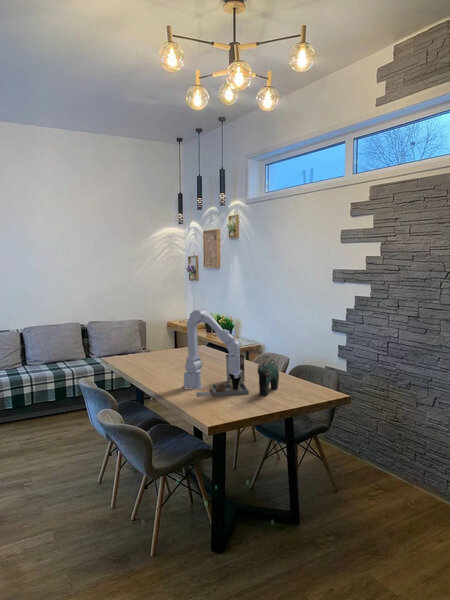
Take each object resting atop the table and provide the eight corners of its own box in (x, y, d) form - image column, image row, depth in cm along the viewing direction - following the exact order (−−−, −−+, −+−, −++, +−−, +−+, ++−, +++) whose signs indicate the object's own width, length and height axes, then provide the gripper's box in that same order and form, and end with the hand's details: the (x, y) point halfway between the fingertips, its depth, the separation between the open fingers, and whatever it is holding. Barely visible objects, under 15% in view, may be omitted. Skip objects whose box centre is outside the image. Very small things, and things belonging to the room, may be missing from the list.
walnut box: (216, 394, 229) (216, 385, 228) (216, 392, 233) (215, 383, 233) (225, 394, 229) (225, 384, 229) (224, 391, 234) (224, 382, 233)
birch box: (231, 392, 233) (231, 380, 232) (230, 389, 237) (230, 378, 237) (239, 391, 233) (239, 380, 233) (238, 389, 238) (238, 378, 237)
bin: (213, 397, 226) (213, 392, 226) (211, 389, 241) (211, 384, 241) (248, 395, 229) (248, 390, 228) (244, 387, 243) (243, 382, 243)
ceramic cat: (266, 398, 222) (265, 359, 220) (254, 396, 225) (254, 358, 224) (281, 388, 239) (280, 351, 238) (270, 387, 242) (269, 351, 241)
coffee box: (241, 380, 259) (240, 352, 257) (245, 382, 253) (244, 355, 251) (226, 381, 256) (225, 354, 255) (229, 384, 250) (228, 356, 249)
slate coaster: (197, 397, 226) (197, 396, 226) (196, 393, 233) (196, 392, 233) (210, 396, 227) (210, 395, 227) (209, 392, 234) (209, 391, 234)
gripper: (244, 365, 227) (244, 391, 228) (239, 359, 242) (240, 384, 243) (230, 366, 226) (231, 392, 228) (227, 360, 241) (227, 384, 242)
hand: (235, 388), depth 235 cm, fingers closed on birch box, 4 cm apart
